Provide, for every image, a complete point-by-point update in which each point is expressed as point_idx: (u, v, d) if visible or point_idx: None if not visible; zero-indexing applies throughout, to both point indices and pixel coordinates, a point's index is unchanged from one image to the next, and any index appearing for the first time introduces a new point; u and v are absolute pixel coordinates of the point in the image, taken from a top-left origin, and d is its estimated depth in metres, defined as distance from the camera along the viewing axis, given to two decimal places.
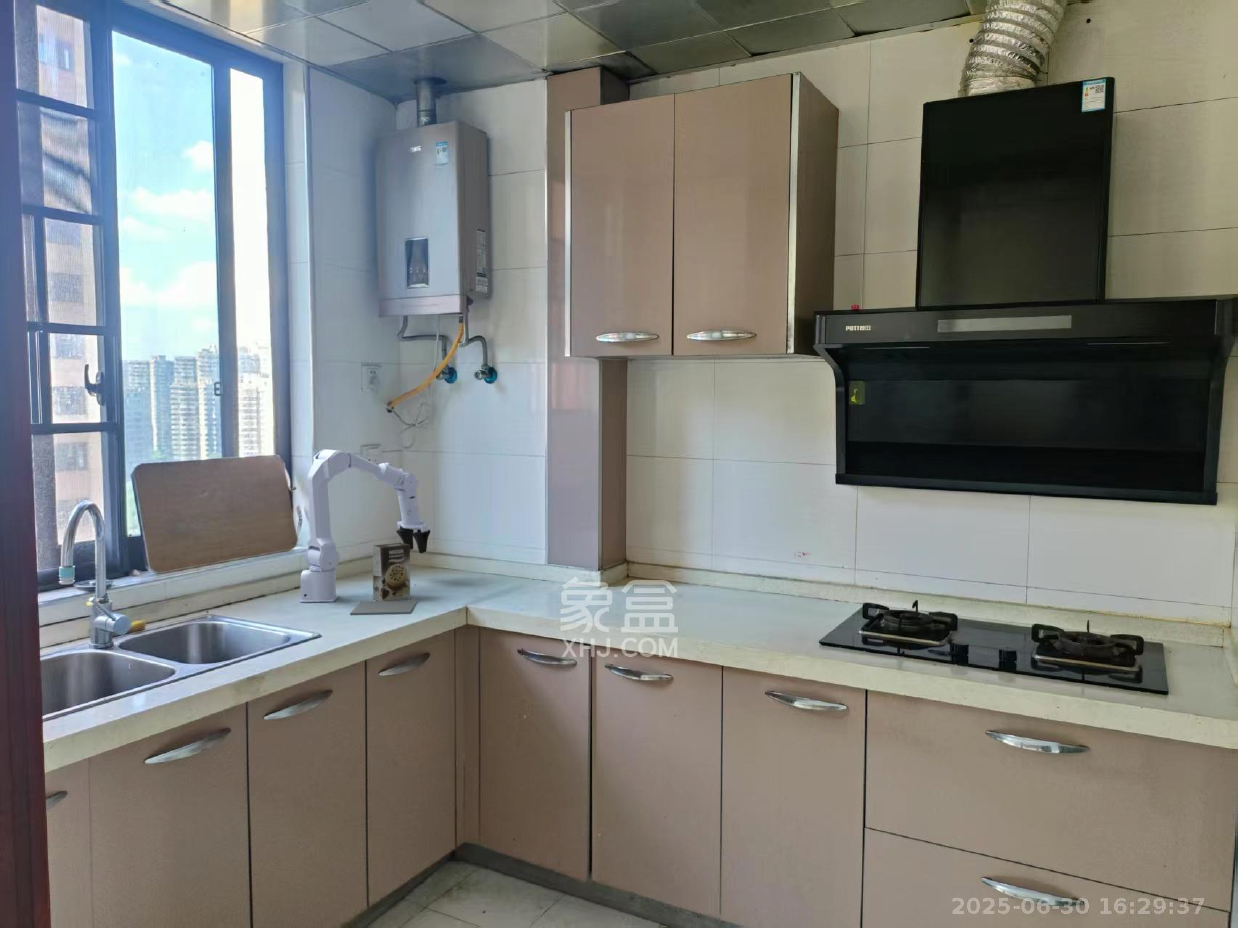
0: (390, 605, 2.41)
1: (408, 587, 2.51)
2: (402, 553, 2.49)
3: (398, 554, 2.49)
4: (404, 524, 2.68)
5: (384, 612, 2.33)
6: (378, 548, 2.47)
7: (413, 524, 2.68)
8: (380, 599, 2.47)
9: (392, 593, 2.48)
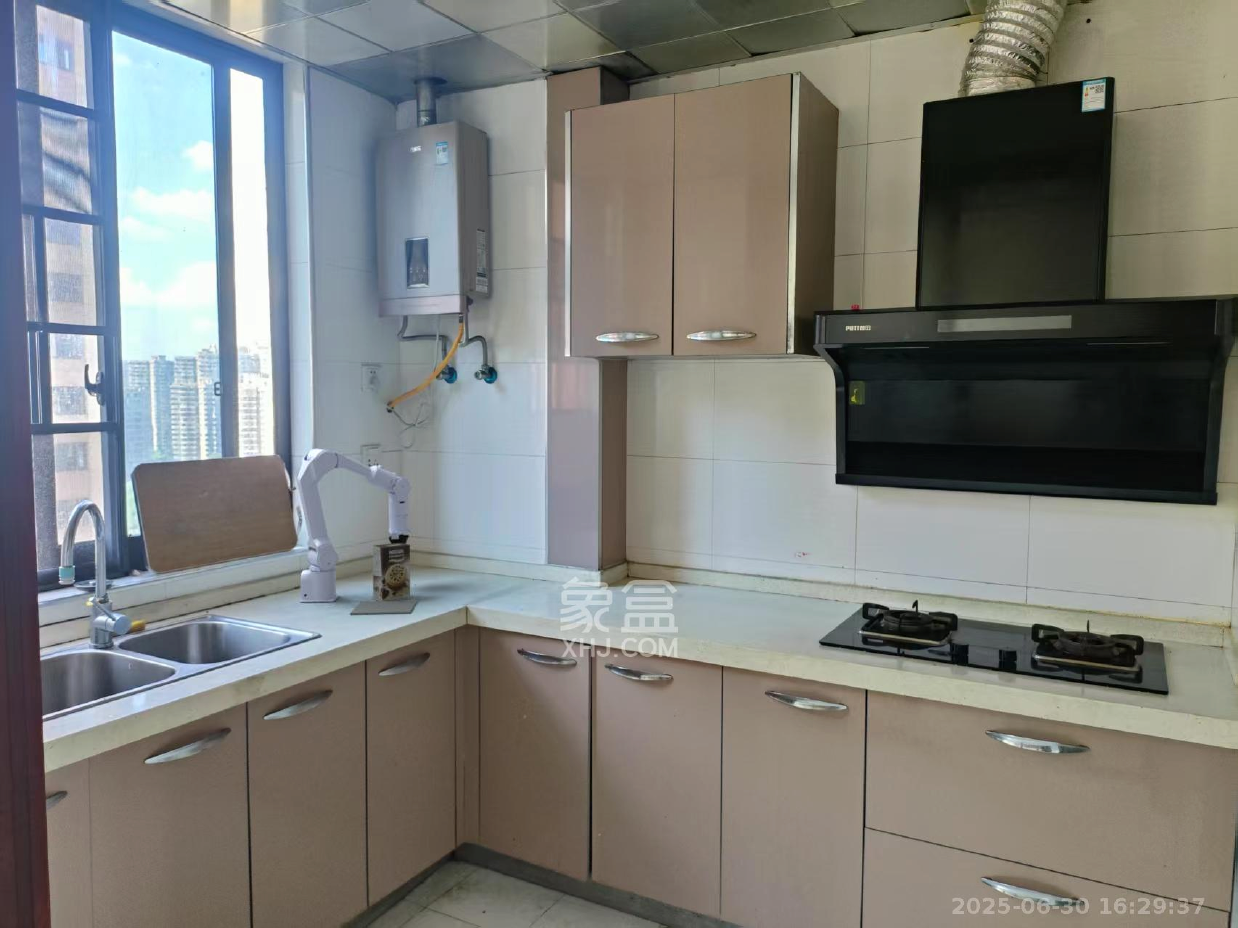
0: (390, 605, 2.41)
1: (408, 587, 2.51)
2: (402, 553, 2.49)
3: (398, 554, 2.49)
4: (389, 528, 2.63)
5: (384, 612, 2.33)
6: (378, 548, 2.47)
7: (393, 530, 2.61)
8: (380, 599, 2.47)
9: (392, 593, 2.48)
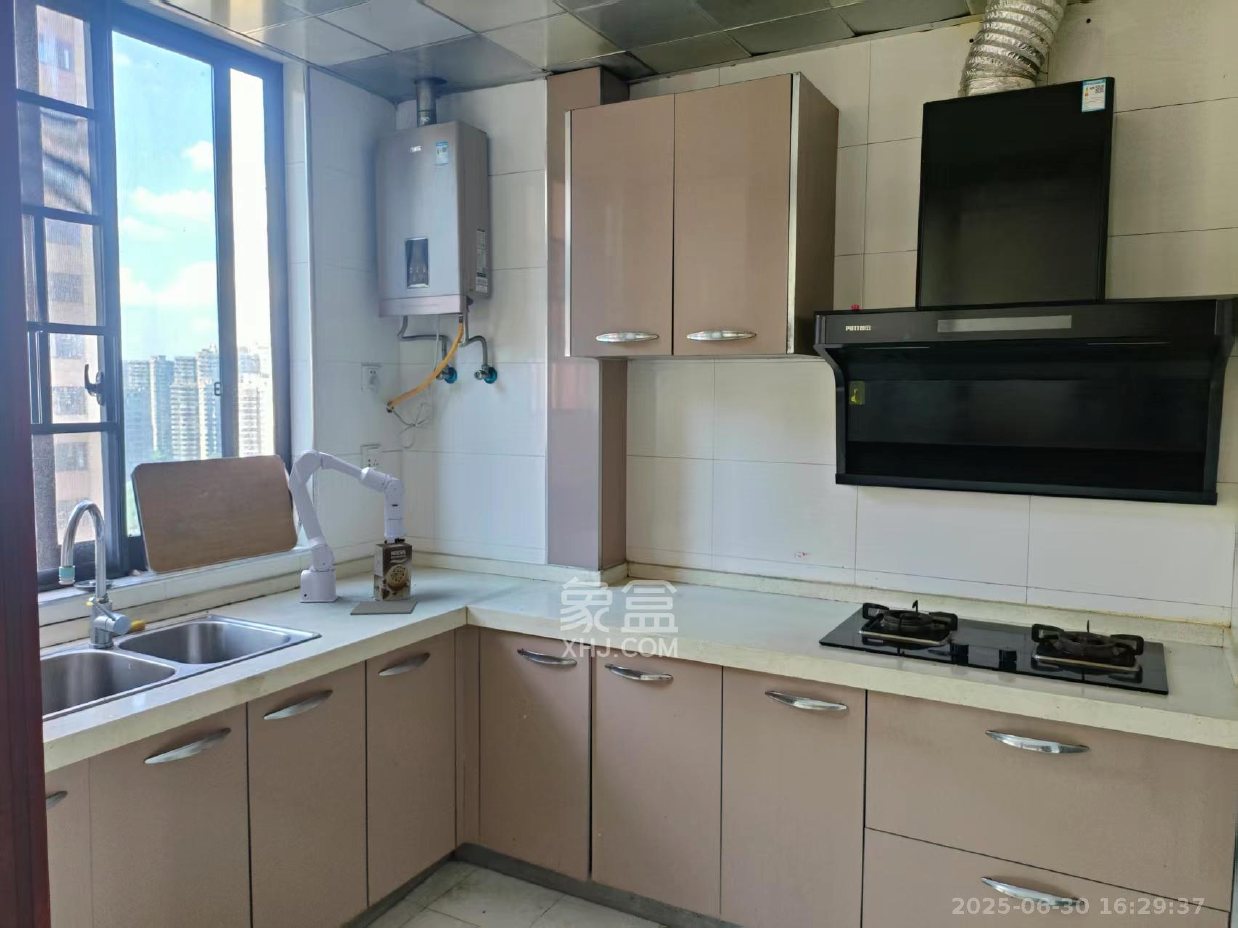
0: (390, 605, 2.41)
1: (408, 587, 2.51)
2: (404, 554, 2.48)
3: (400, 555, 2.48)
4: None
5: (384, 612, 2.33)
6: (380, 548, 2.46)
7: (389, 533, 2.54)
8: (380, 599, 2.47)
9: (392, 593, 2.48)
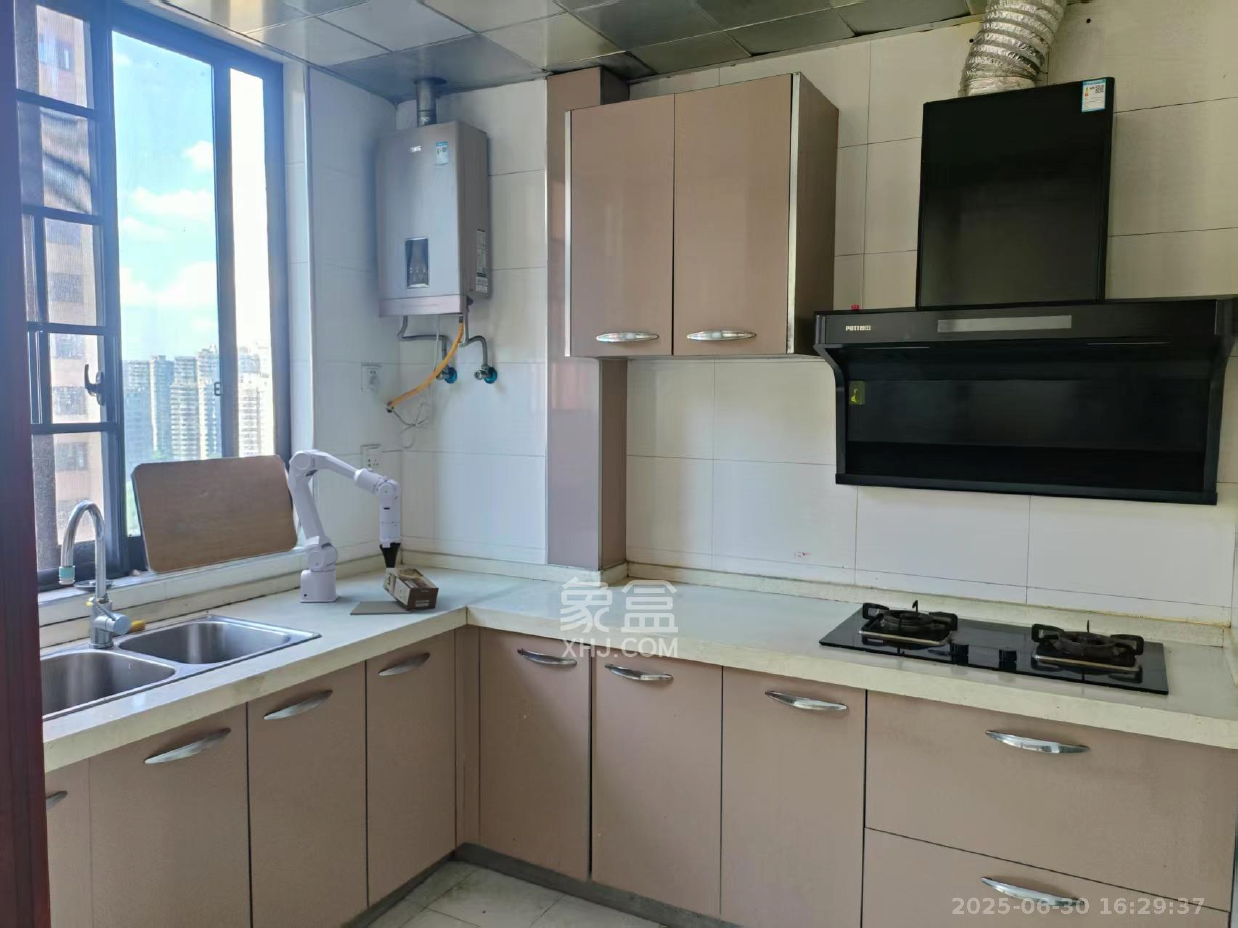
0: (390, 605, 2.41)
1: None
2: None
3: None
4: (380, 535, 2.48)
5: (384, 612, 2.33)
6: (406, 601, 2.34)
7: (384, 537, 2.46)
8: (384, 584, 2.45)
9: None
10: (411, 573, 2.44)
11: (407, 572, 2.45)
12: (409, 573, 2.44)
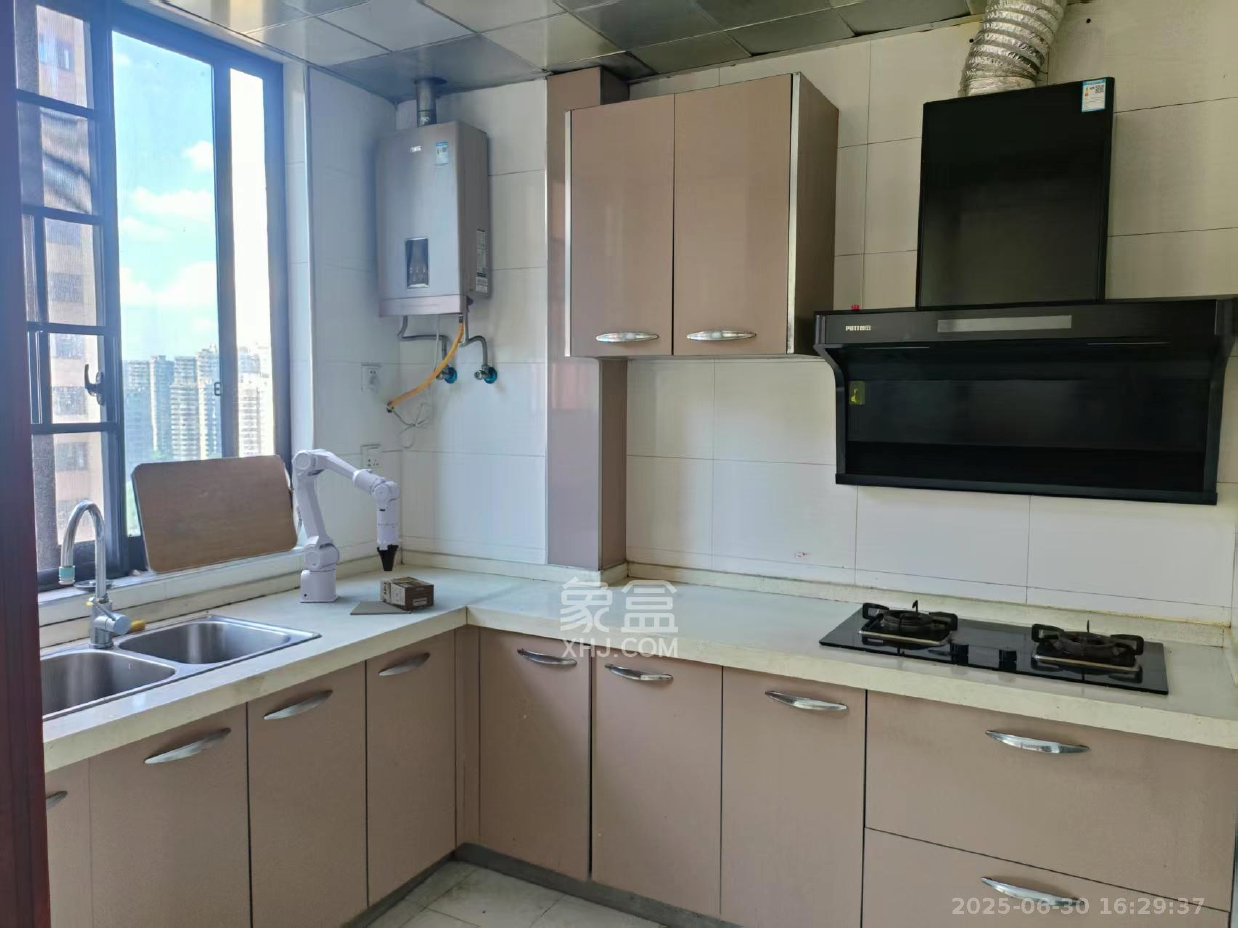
0: (390, 605, 2.41)
1: None
2: None
3: None
4: (377, 538, 2.44)
5: (384, 612, 2.33)
6: (403, 601, 2.34)
7: (382, 540, 2.42)
8: (381, 596, 2.45)
9: None
10: (405, 579, 2.45)
11: (401, 579, 2.46)
12: (403, 579, 2.45)
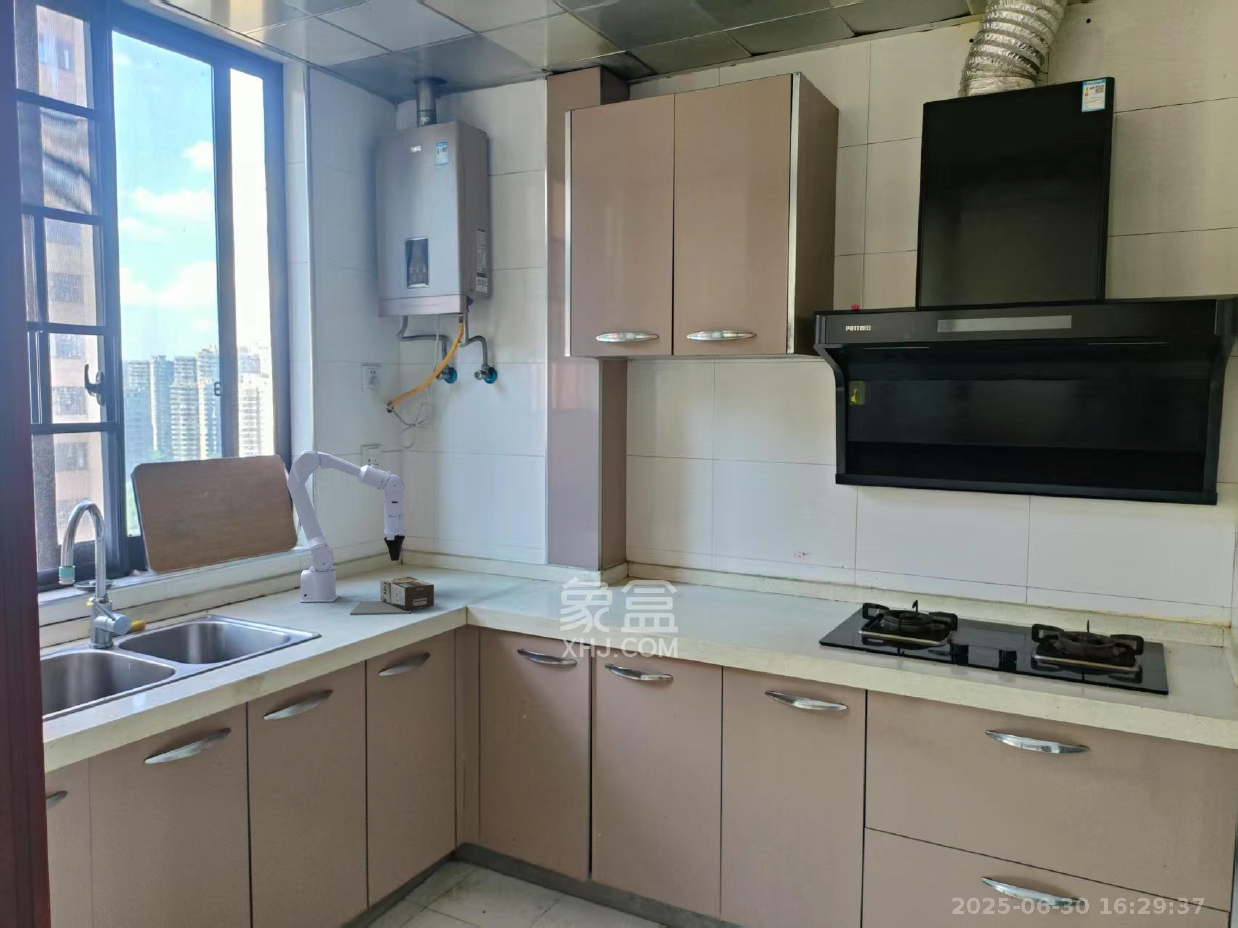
0: (390, 605, 2.41)
1: None
2: None
3: None
4: None
5: (384, 612, 2.33)
6: (403, 601, 2.34)
7: (389, 530, 2.53)
8: (381, 596, 2.45)
9: None
10: (405, 579, 2.45)
11: (401, 579, 2.46)
12: (403, 579, 2.45)
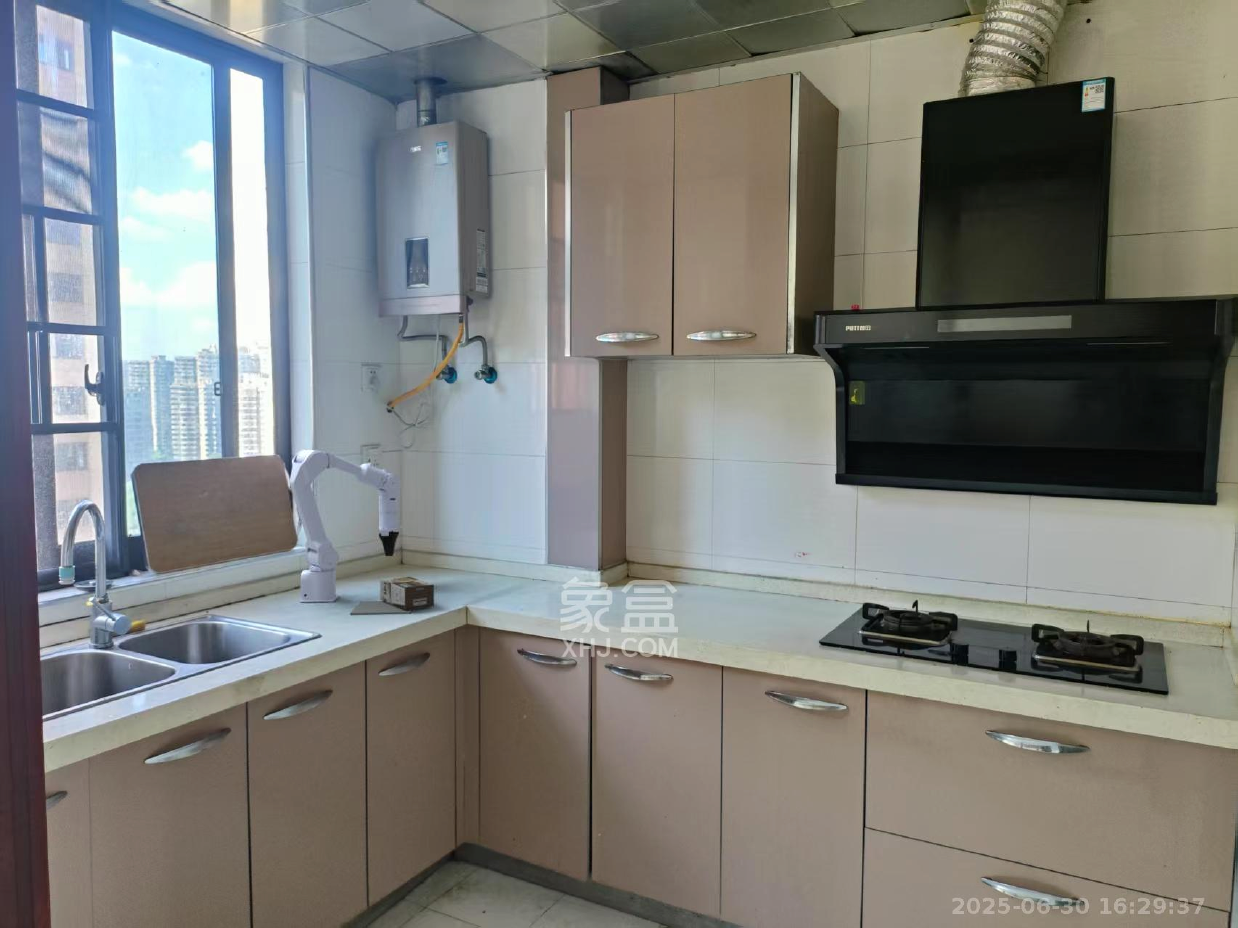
0: (390, 605, 2.41)
1: None
2: None
3: None
4: (379, 525, 2.63)
5: (384, 612, 2.33)
6: (403, 601, 2.34)
7: (383, 527, 2.61)
8: (381, 596, 2.45)
9: None
10: (405, 579, 2.45)
11: (401, 579, 2.46)
12: (403, 579, 2.45)
